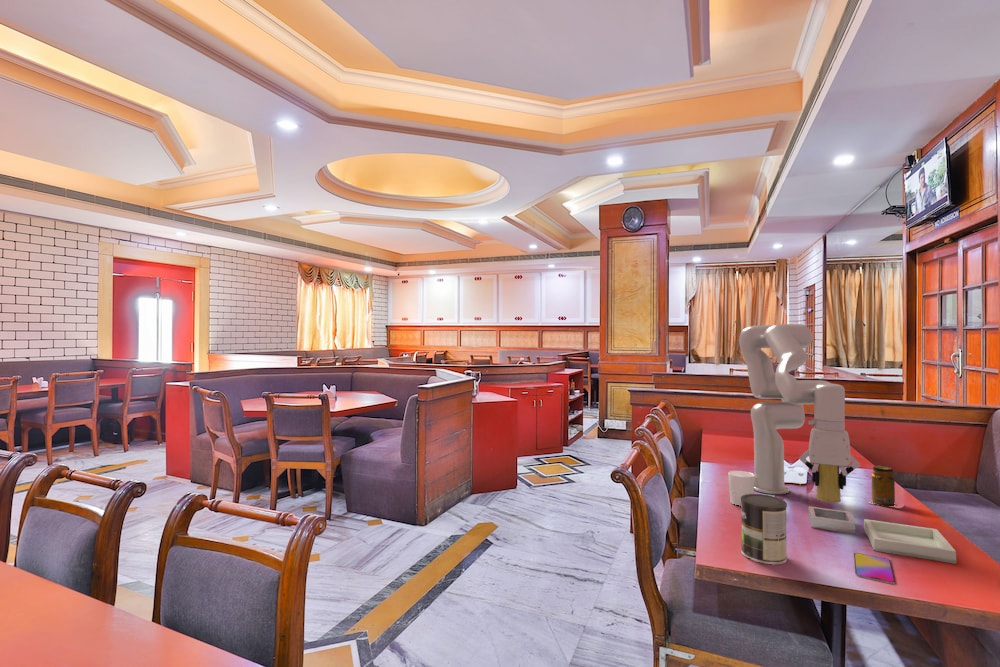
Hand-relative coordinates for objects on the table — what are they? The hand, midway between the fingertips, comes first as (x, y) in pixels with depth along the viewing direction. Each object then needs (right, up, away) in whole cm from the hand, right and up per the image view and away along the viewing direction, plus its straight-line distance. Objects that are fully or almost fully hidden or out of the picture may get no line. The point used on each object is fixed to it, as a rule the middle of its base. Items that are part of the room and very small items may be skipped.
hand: (828, 485), depth 146 cm
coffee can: (-31, -11, -22) cm, 39 cm away
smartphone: (-8, -11, -28) cm, 32 cm away
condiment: (+30, -12, +17) cm, 37 cm away
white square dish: (0, -11, -1) cm, 11 cm away
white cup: (-17, -12, +18) cm, 27 cm away
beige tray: (+10, -11, -16) cm, 22 cm away
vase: (0, -4, 0) cm, 4 cm away
